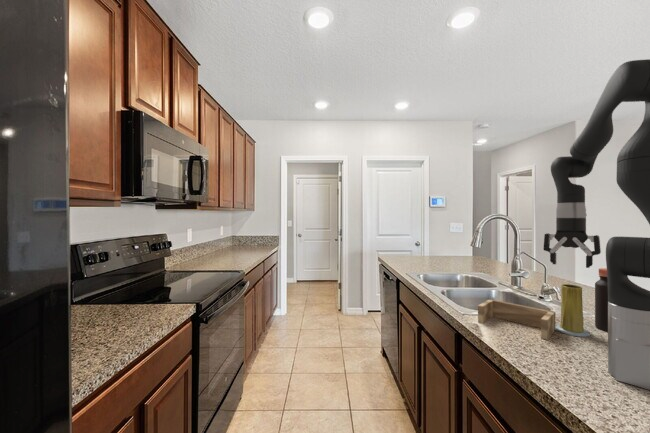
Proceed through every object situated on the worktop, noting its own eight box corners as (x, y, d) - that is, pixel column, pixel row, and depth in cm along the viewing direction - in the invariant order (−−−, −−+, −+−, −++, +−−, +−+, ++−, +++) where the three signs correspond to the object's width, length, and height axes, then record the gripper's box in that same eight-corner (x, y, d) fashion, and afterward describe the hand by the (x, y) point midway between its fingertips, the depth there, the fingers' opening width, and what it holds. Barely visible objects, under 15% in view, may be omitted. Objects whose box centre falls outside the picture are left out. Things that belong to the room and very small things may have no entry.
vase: (562, 330, 95) (562, 287, 95) (557, 324, 100) (557, 283, 100) (586, 334, 92) (586, 289, 92) (580, 327, 98) (580, 285, 98)
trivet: (588, 339, 90) (588, 337, 90) (551, 330, 97) (551, 329, 97) (592, 331, 96) (592, 329, 96) (557, 323, 103) (557, 322, 103)
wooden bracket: (547, 339, 90) (547, 320, 90) (478, 322, 105) (477, 305, 105) (555, 329, 97) (555, 311, 97) (489, 314, 113) (489, 299, 113)
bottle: (603, 324, 102) (602, 267, 102) (628, 331, 95) (628, 270, 95) (590, 326, 100) (589, 268, 100) (614, 334, 93) (614, 272, 93)
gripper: (541, 216, 99) (541, 264, 99) (599, 216, 88) (599, 270, 88) (546, 216, 104) (546, 262, 104) (601, 216, 93) (601, 267, 93)
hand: (570, 265), depth 96 cm, fingers open, 8 cm apart
